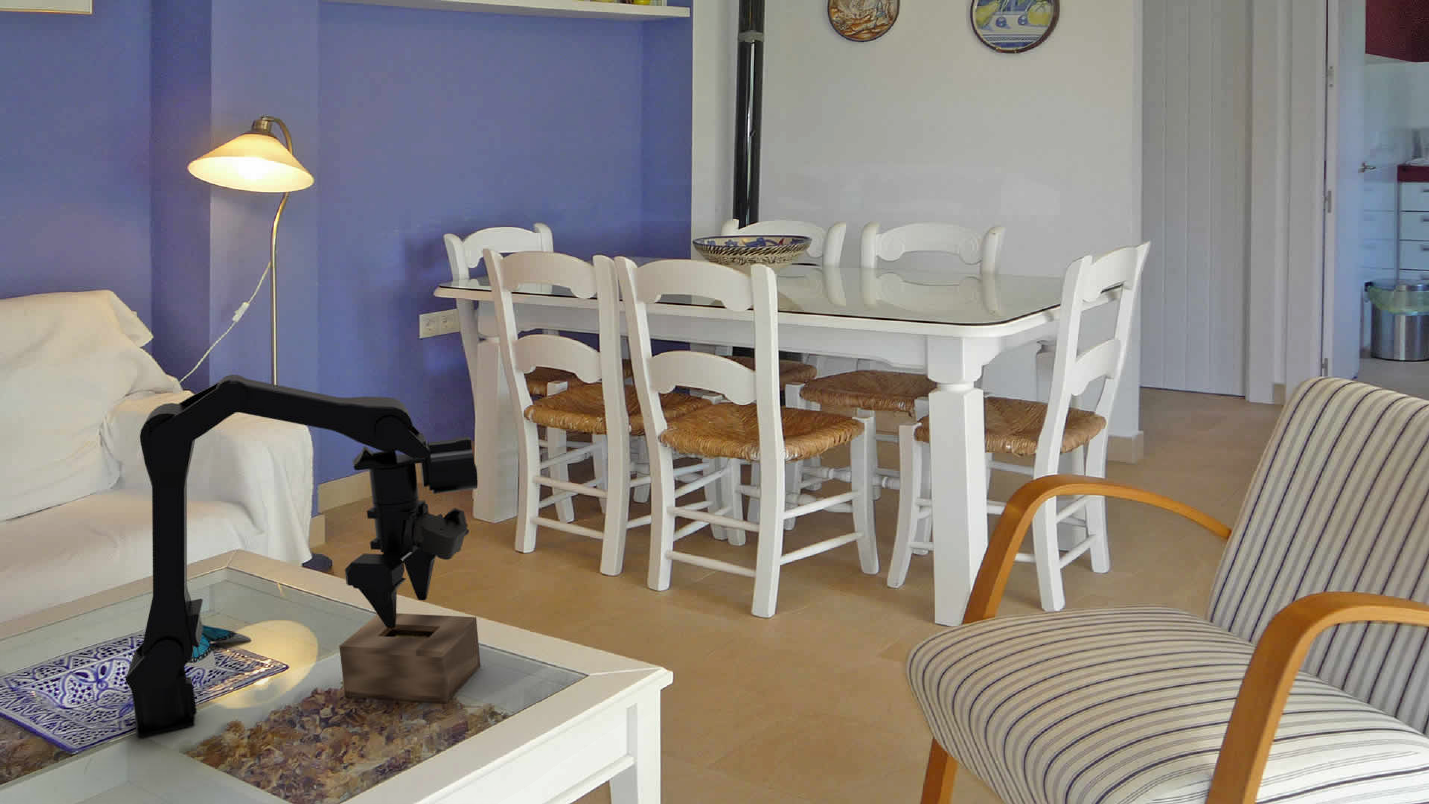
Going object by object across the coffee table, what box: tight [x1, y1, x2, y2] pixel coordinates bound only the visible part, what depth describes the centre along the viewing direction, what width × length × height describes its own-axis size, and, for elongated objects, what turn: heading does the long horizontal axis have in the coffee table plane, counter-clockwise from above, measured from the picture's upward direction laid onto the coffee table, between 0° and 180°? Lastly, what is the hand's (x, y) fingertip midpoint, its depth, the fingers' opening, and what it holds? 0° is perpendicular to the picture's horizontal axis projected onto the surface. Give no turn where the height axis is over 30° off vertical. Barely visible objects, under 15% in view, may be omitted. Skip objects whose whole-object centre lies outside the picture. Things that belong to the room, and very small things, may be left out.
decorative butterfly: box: [184, 612, 252, 671], centre depth 176 cm, size 10×6×10 cm
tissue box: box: [338, 612, 482, 704], centre depth 164 cm, size 14×11×7 cm
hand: (407, 613), depth 162 cm, fingers open, 9 cm apart
